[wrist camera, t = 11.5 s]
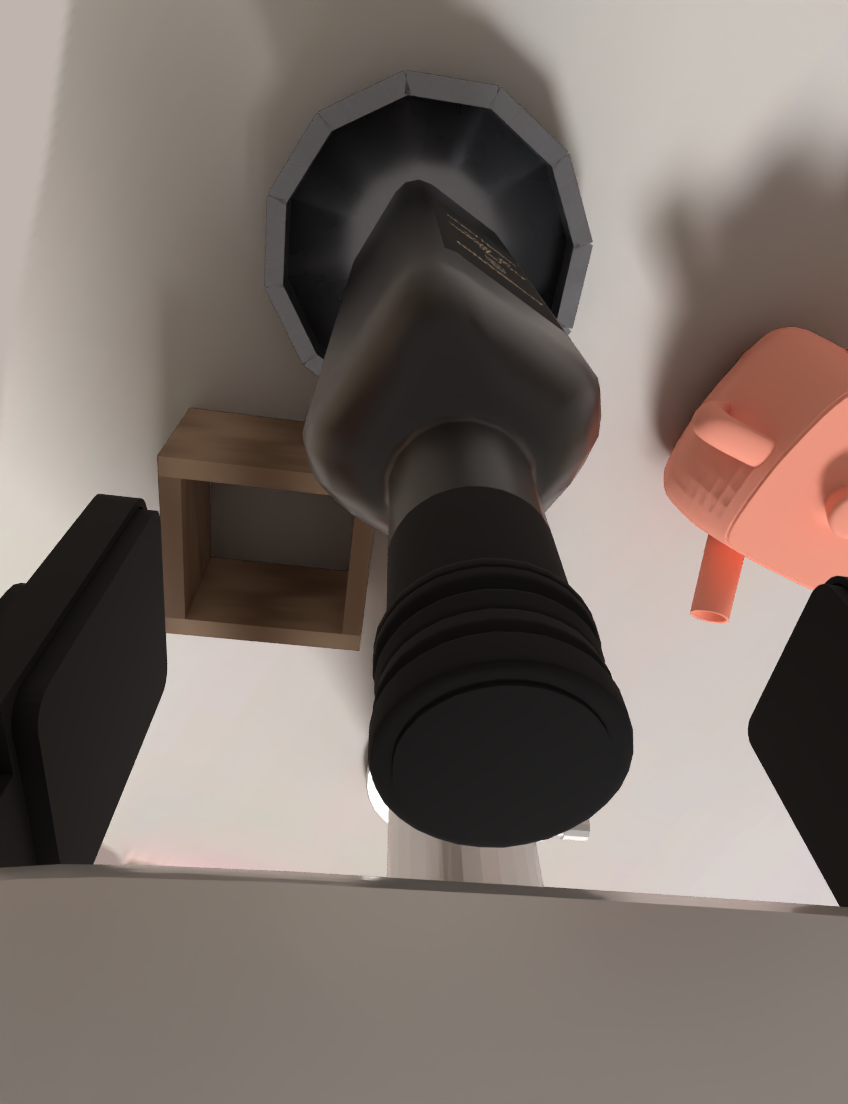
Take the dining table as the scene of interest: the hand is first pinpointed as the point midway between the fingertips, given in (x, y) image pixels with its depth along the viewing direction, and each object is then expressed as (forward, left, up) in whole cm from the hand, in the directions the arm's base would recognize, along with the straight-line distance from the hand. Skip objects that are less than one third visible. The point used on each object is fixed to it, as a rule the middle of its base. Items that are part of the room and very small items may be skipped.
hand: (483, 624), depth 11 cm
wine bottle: (0, 0, -28) cm, 28 cm away
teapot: (-19, +6, -29) cm, 35 cm away
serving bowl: (0, 0, -28) cm, 28 cm away
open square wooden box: (+6, +14, -28) cm, 32 cm away
